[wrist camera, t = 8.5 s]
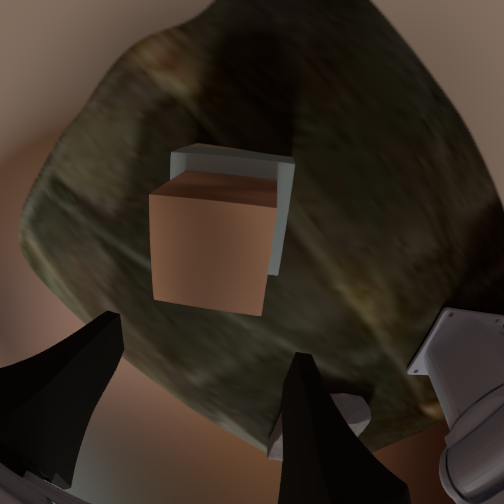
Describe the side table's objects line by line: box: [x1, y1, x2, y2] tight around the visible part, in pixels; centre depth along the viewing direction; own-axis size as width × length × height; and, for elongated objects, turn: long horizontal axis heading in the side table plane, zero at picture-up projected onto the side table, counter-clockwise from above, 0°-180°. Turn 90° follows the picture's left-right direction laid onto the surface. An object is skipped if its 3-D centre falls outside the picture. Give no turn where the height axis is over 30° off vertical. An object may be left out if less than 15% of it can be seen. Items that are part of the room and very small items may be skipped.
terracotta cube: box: [149, 170, 277, 316], centre depth 13 cm, size 4×4×4 cm
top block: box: [170, 147, 295, 276], centre depth 16 cm, size 6×6×2 cm
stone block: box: [267, 393, 371, 461], centre depth 29 cm, size 12×5×10 cm
